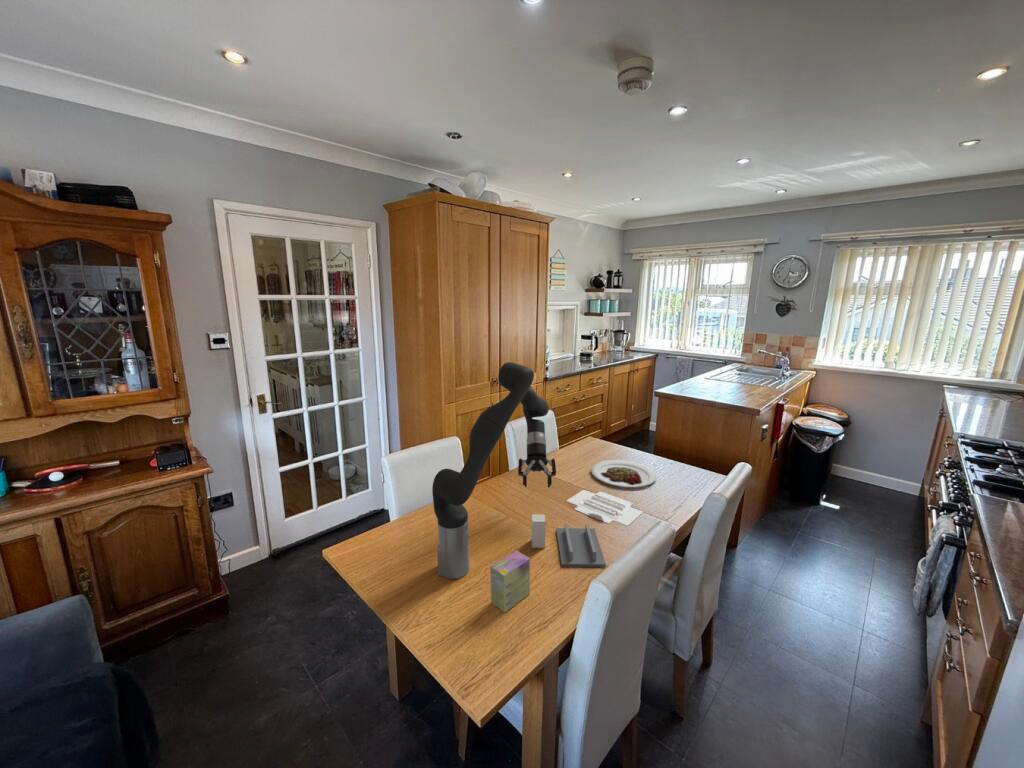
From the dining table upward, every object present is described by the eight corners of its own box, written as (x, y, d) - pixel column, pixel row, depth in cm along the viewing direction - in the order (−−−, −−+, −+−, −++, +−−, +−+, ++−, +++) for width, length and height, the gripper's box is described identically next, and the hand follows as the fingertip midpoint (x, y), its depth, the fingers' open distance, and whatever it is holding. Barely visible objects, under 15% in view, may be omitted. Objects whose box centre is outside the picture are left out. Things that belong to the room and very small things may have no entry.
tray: (587, 488, 182) (588, 481, 181) (646, 512, 164) (647, 504, 163) (561, 506, 167) (561, 498, 166) (623, 534, 149) (624, 525, 148)
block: (531, 547, 138) (532, 521, 136) (531, 539, 143) (531, 514, 141) (545, 547, 138) (545, 521, 136) (544, 540, 143) (544, 514, 140)
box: (516, 584, 121) (516, 549, 118) (530, 594, 117) (530, 558, 114) (490, 602, 114) (489, 566, 111) (504, 613, 110) (503, 576, 107)
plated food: (605, 458, 214) (606, 452, 213) (663, 472, 197) (664, 466, 196) (580, 479, 190) (580, 472, 189) (643, 497, 173) (644, 490, 172)
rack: (561, 566, 129) (561, 555, 128) (556, 530, 148) (556, 520, 147) (605, 567, 128) (606, 556, 127) (594, 531, 148) (594, 521, 147)
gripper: (518, 441, 154) (518, 483, 146) (555, 441, 154) (557, 483, 145) (518, 449, 161) (518, 489, 152) (553, 449, 160) (555, 489, 152)
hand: (537, 486), depth 149 cm, fingers open, 8 cm apart
